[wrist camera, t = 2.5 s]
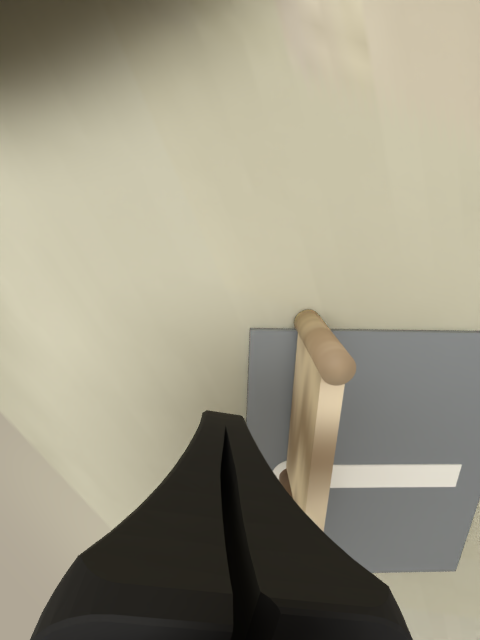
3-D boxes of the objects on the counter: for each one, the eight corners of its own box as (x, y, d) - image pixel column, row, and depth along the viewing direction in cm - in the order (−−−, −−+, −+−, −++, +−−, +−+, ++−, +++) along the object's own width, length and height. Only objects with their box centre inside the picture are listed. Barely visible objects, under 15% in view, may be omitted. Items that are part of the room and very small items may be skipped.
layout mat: (529, 331, 20) (535, 334, 19) (452, 567, 26) (456, 572, 26) (249, 328, 19) (250, 330, 19) (240, 570, 25) (240, 576, 25)
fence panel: (304, 464, 22) (329, 546, 16) (282, 464, 22) (299, 547, 16) (321, 309, 18) (358, 353, 13) (295, 309, 18) (322, 352, 13)
